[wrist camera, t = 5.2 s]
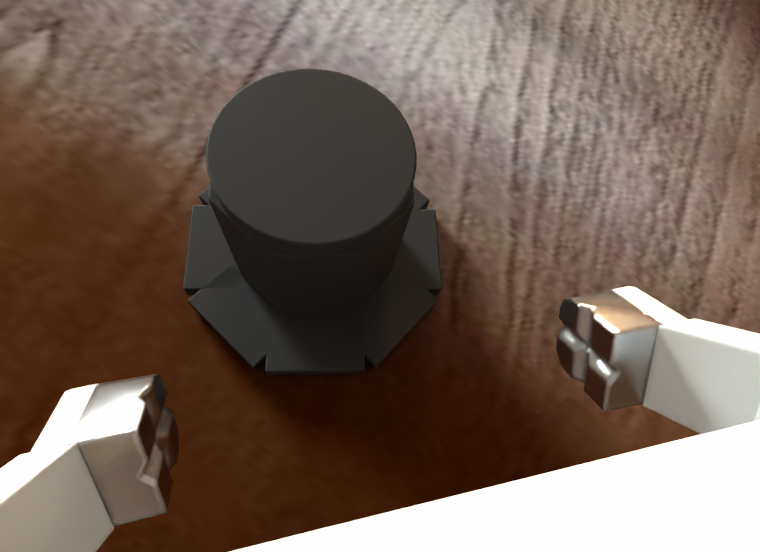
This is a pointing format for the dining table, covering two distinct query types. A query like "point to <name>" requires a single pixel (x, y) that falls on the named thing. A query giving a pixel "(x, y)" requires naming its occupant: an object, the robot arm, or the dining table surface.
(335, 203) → the hat
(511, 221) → the dining table surface
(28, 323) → the dining table surface
